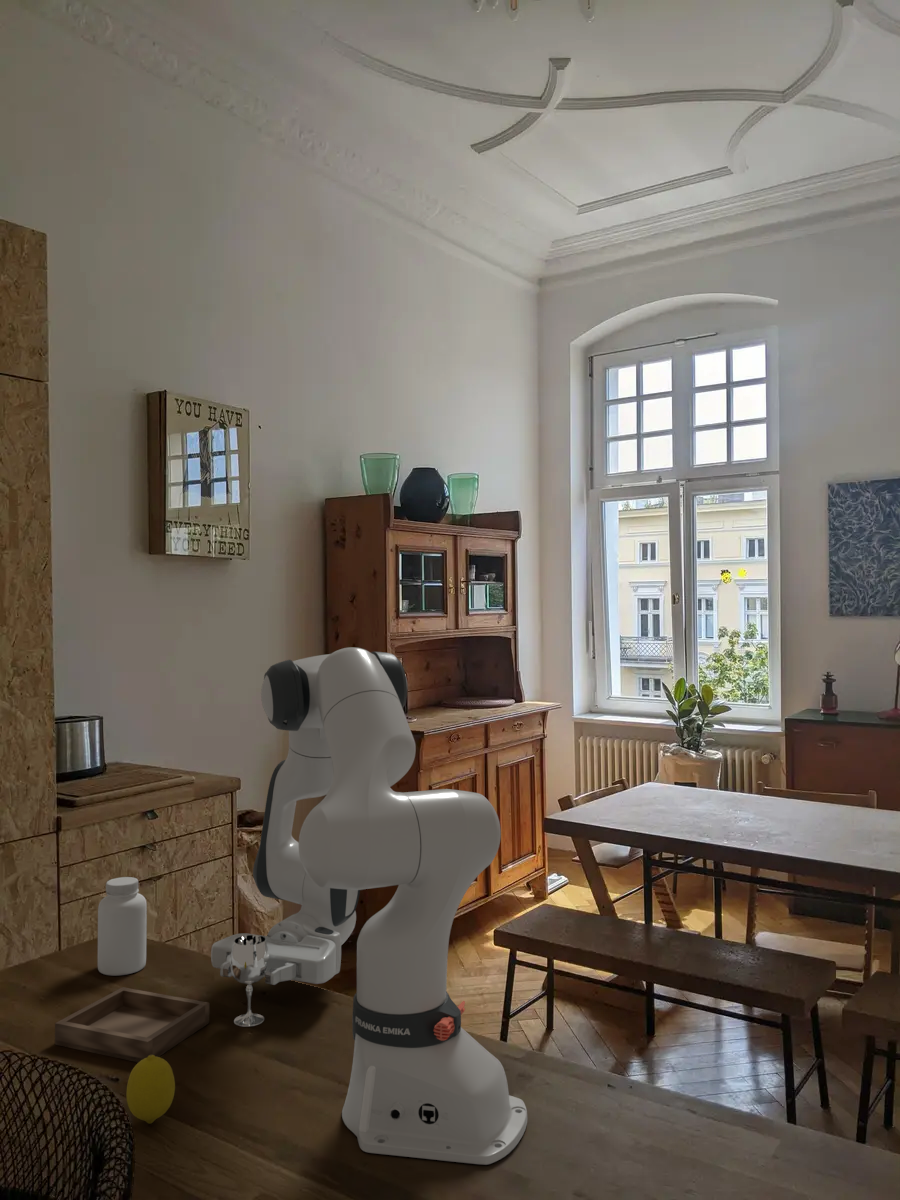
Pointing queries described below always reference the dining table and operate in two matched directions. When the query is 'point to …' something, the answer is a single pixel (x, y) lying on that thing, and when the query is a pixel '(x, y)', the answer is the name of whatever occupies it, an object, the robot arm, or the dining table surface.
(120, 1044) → the tray
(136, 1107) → the lemon
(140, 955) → the pill bottle
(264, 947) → the wineglass
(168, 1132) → the dining table surface
